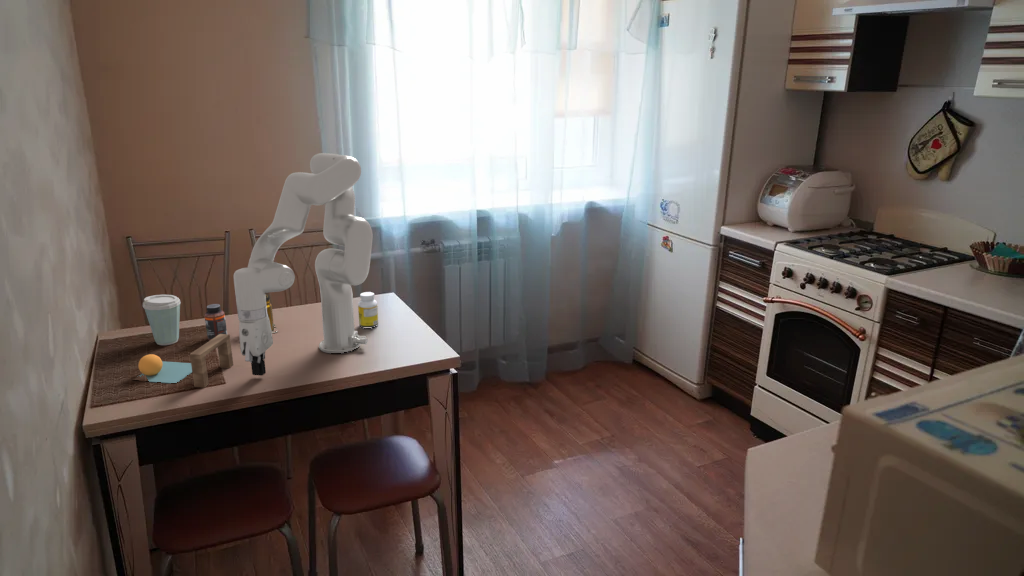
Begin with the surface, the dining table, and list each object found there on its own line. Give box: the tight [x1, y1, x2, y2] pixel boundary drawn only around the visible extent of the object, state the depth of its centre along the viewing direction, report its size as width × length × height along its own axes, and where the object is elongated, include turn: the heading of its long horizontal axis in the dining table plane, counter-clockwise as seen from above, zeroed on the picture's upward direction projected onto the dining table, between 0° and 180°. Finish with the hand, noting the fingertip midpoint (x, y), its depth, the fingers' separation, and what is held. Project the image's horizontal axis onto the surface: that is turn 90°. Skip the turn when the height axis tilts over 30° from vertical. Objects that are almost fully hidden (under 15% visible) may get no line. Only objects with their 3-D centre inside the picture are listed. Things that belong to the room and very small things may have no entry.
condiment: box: [265, 294, 278, 334], centre depth 220 cm, size 7×8×12 cm
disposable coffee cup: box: [142, 294, 182, 346], centre depth 208 cm, size 11×11×15 cm
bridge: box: [189, 333, 234, 389], centre depth 186 cm, size 3×15×10 cm, turn 173°
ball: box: [138, 353, 163, 376], centre depth 186 cm, size 6×6×6 cm
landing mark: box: [138, 360, 192, 384], centre depth 189 cm, size 13×13×1 cm
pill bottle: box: [357, 291, 379, 328], centre depth 225 cm, size 6×6×12 cm
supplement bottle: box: [204, 303, 228, 342], centre depth 212 cm, size 6×6×11 cm
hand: (259, 373), depth 186 cm, fingers closed
